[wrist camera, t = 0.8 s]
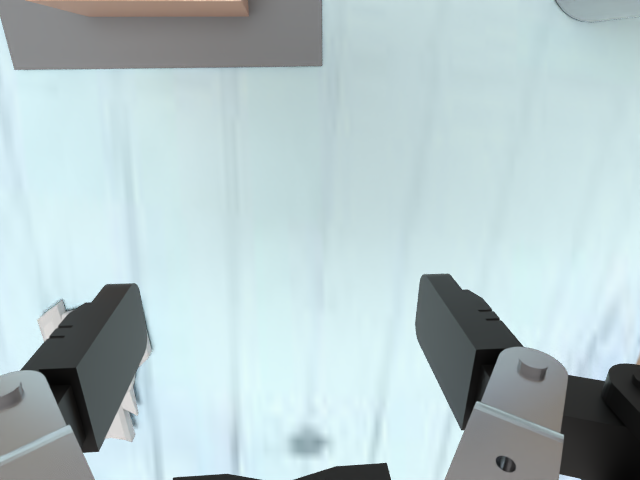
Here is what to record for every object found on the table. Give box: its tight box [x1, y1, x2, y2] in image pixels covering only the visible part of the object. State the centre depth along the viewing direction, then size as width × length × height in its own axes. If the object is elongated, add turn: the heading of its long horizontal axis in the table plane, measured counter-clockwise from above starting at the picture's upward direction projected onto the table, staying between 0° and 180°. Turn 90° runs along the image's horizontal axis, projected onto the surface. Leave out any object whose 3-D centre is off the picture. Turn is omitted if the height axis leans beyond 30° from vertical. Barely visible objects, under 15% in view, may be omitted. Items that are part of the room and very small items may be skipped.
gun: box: [37, 300, 152, 442], centre depth 43 cm, size 18×4×10 cm
